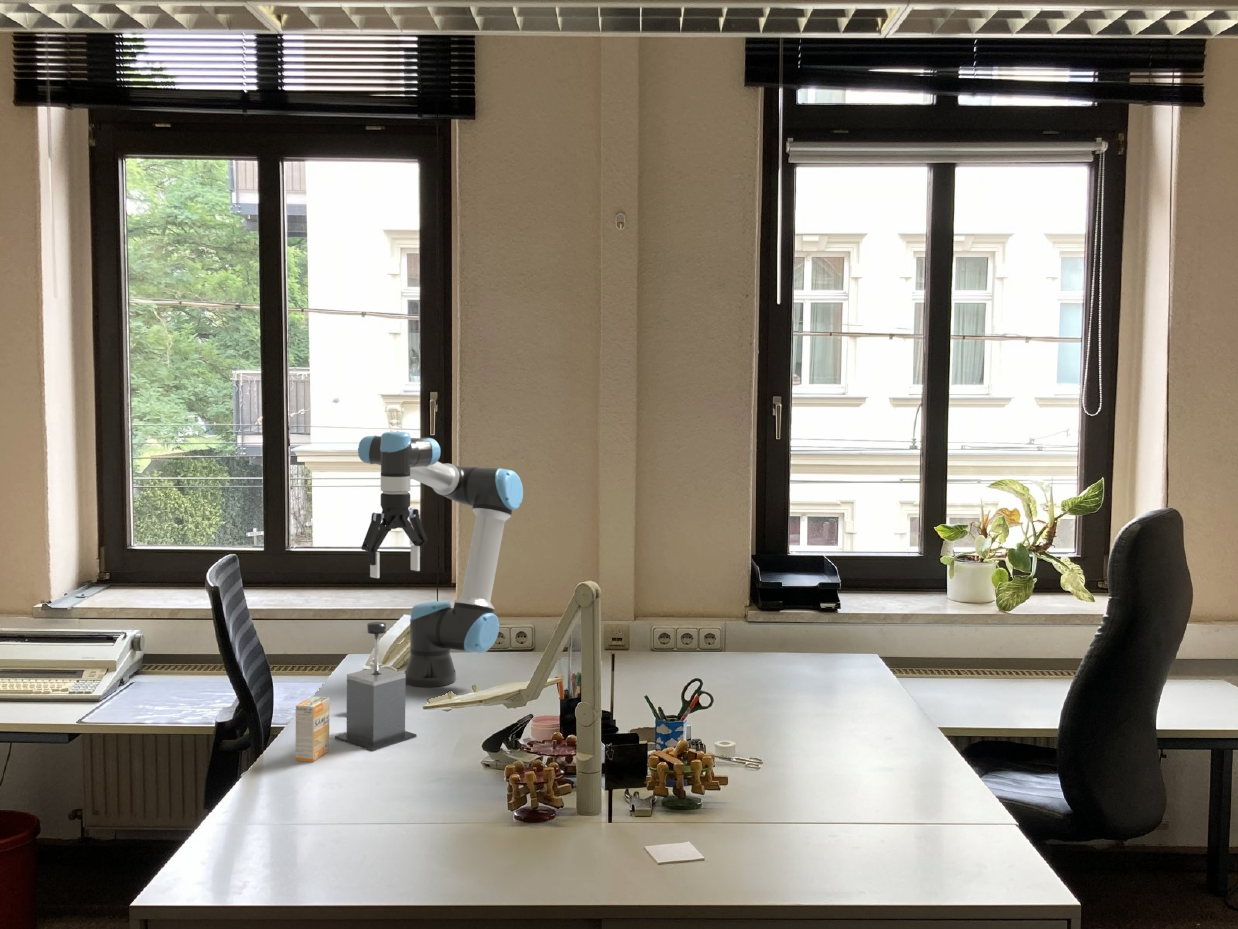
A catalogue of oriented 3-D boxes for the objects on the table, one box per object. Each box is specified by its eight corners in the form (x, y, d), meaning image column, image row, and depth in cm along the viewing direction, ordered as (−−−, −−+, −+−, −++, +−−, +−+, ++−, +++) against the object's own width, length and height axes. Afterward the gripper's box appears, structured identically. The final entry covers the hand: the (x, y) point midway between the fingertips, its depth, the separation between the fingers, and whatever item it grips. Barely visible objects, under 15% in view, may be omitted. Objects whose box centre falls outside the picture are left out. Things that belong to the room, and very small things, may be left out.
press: (376, 724, 275) (377, 663, 274) (416, 736, 266) (417, 673, 265) (332, 737, 264) (332, 674, 263) (372, 751, 255) (372, 685, 254)
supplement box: (313, 762, 247) (314, 707, 246) (294, 761, 248) (294, 705, 247) (330, 751, 255) (330, 697, 254) (311, 749, 256) (311, 695, 255)
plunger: (378, 676, 269) (378, 619, 268) (397, 682, 265) (397, 623, 264) (355, 682, 263) (355, 624, 262) (374, 688, 259) (374, 628, 258)
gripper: (421, 487, 288) (421, 565, 290) (347, 494, 268) (347, 578, 270) (441, 489, 284) (440, 569, 286) (366, 497, 264) (366, 582, 266)
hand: (395, 574), depth 278 cm, fingers open, 13 cm apart
